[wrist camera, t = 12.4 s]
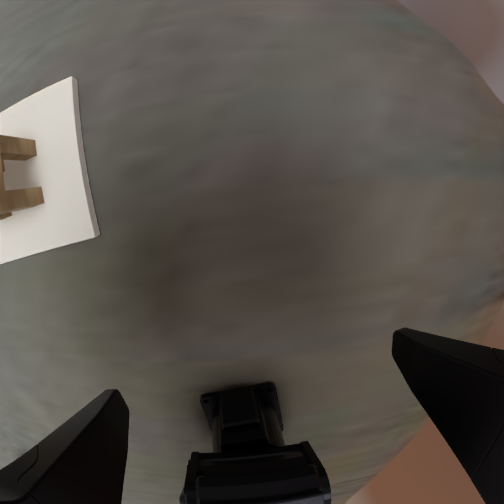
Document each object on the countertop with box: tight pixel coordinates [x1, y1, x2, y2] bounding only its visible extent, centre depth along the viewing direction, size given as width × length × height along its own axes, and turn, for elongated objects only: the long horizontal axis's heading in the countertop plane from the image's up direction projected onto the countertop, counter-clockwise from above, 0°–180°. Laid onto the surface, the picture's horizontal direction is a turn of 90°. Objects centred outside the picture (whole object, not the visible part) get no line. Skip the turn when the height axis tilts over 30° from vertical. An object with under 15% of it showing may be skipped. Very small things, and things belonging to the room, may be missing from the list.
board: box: [0, 76, 100, 264], centre depth 17 cm, size 12×12×1 cm
